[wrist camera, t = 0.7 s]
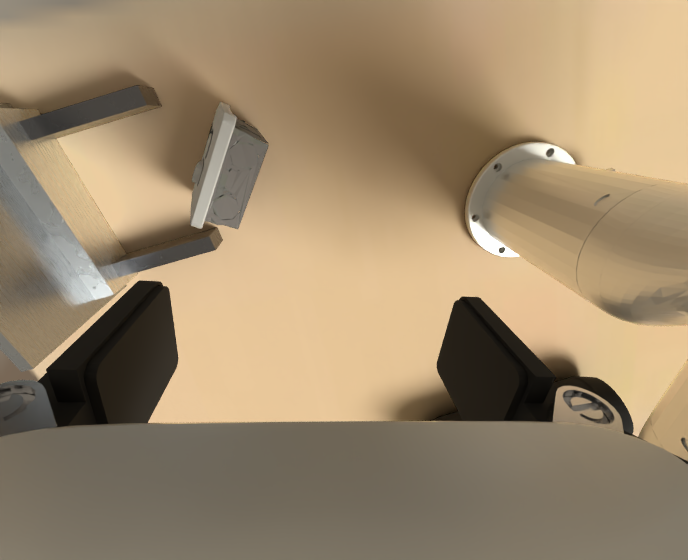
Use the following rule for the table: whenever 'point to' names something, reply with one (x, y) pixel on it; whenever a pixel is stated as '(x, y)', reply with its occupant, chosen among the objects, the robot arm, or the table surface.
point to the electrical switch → (226, 170)
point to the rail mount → (63, 229)
